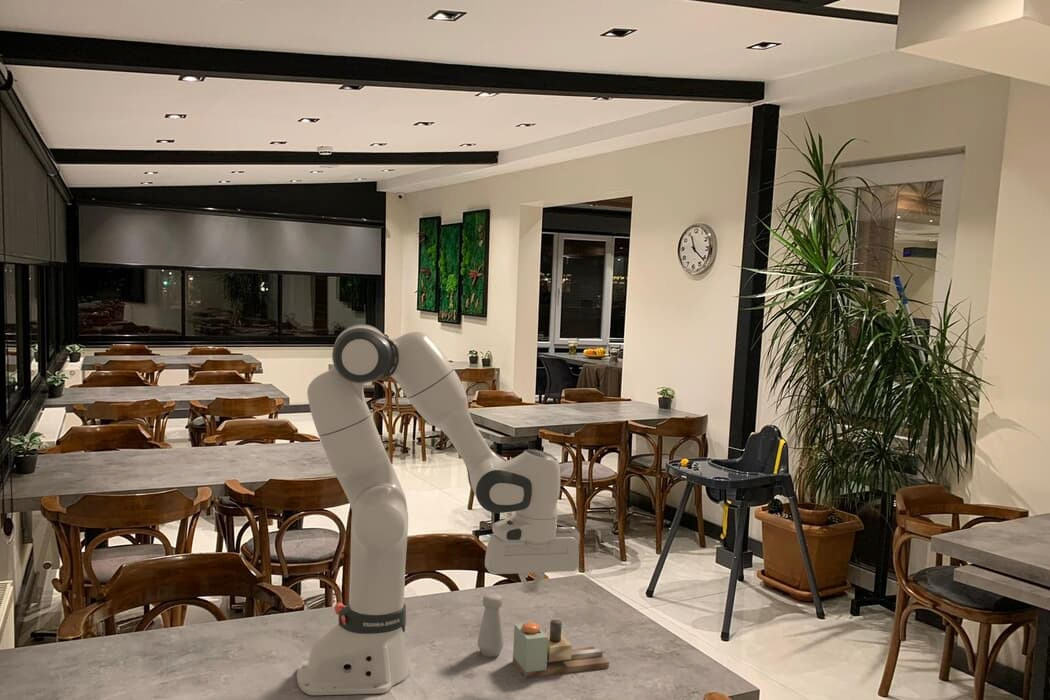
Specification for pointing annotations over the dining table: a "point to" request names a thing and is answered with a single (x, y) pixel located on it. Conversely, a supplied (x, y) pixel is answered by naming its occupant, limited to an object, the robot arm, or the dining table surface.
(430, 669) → the dining table surface
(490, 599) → the salt shaker
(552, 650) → the carriage
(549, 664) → the rail bed
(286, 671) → the dining table surface
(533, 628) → the button
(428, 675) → the dining table surface
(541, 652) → the end cabinet
